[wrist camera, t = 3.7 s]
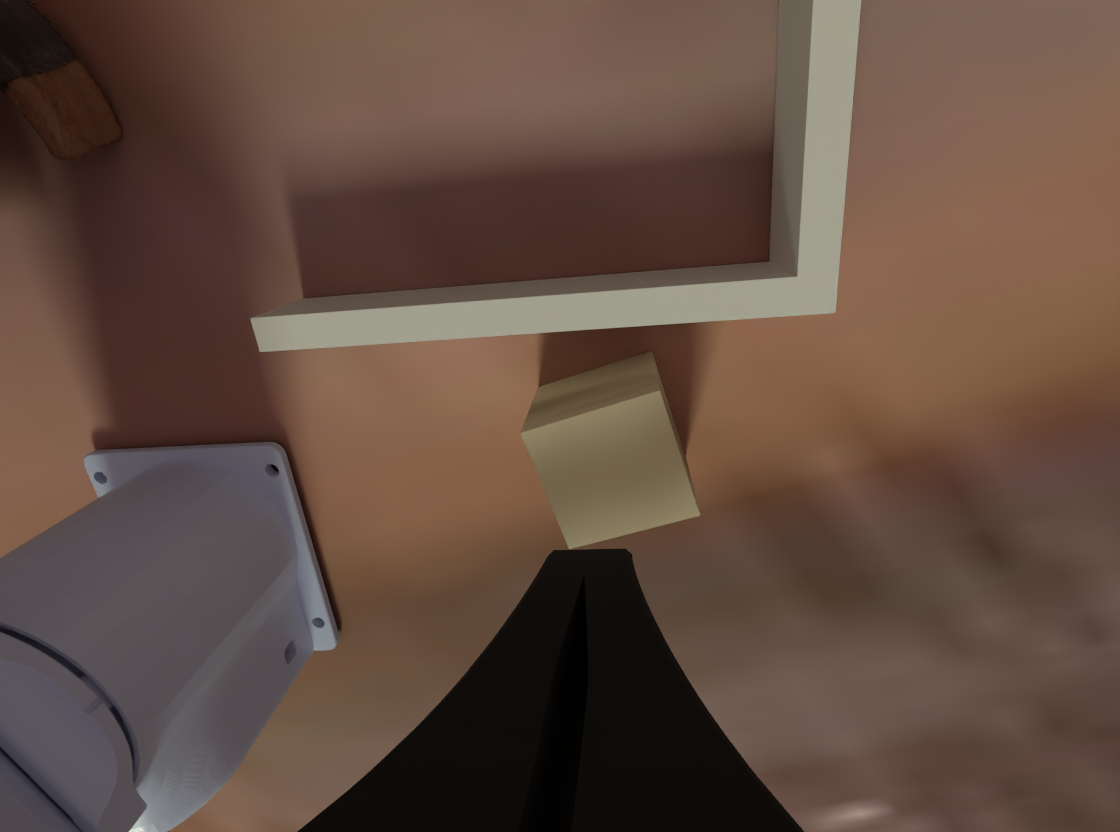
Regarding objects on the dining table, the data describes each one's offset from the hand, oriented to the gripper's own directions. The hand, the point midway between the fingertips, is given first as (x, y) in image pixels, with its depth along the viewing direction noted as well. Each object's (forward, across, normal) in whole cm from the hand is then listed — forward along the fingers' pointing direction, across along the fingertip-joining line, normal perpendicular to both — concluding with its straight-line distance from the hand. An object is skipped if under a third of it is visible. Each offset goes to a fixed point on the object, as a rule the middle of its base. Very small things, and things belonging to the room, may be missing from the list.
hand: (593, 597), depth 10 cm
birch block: (+11, 0, +1) cm, 11 cm away
